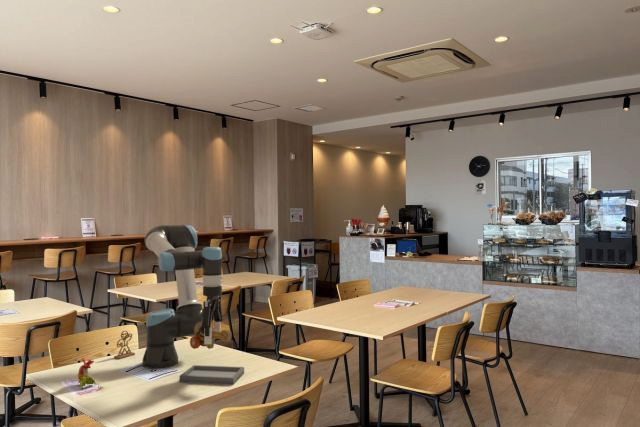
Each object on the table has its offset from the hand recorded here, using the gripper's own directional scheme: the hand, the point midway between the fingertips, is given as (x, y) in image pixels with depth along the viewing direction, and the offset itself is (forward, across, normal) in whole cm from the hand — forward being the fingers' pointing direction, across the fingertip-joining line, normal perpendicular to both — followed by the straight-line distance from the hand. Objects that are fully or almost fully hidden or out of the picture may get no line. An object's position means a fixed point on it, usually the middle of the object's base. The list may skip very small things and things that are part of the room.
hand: (212, 340), depth 196 cm
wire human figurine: (+15, +24, +52) cm, 59 cm away
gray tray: (+15, 0, 0) cm, 15 cm away
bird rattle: (+15, -15, +46) cm, 51 cm away
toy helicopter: (+3, -1, 0) cm, 3 cm away
